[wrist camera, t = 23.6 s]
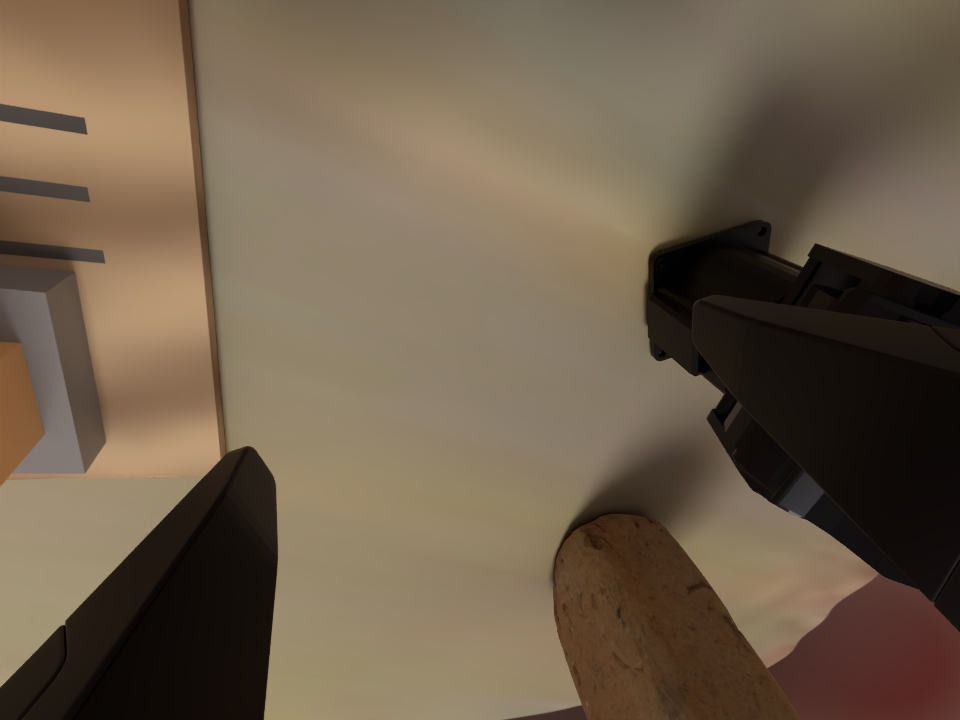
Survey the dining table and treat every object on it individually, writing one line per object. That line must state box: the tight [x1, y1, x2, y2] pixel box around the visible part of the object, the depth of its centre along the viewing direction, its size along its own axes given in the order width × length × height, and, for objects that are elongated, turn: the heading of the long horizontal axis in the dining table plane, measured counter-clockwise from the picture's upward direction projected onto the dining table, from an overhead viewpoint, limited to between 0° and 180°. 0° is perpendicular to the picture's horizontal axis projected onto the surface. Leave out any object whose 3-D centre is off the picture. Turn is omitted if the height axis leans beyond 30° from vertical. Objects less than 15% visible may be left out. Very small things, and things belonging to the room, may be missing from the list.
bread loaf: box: [553, 514, 800, 720], centre depth 27 cm, size 11×8×20 cm
